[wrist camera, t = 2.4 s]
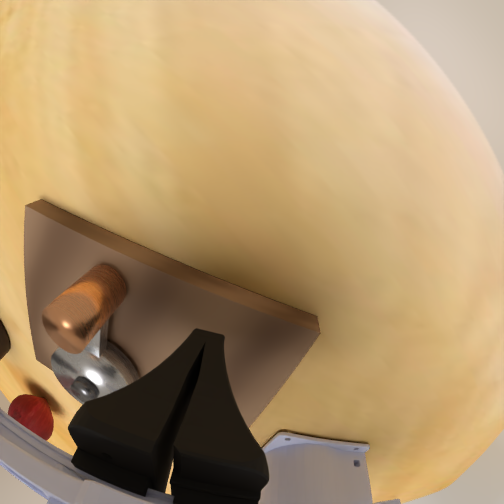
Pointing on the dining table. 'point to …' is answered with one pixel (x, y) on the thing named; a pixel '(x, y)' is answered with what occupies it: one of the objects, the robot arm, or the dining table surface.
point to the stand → (164, 306)
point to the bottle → (3, 342)
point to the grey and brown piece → (88, 336)
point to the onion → (33, 414)
